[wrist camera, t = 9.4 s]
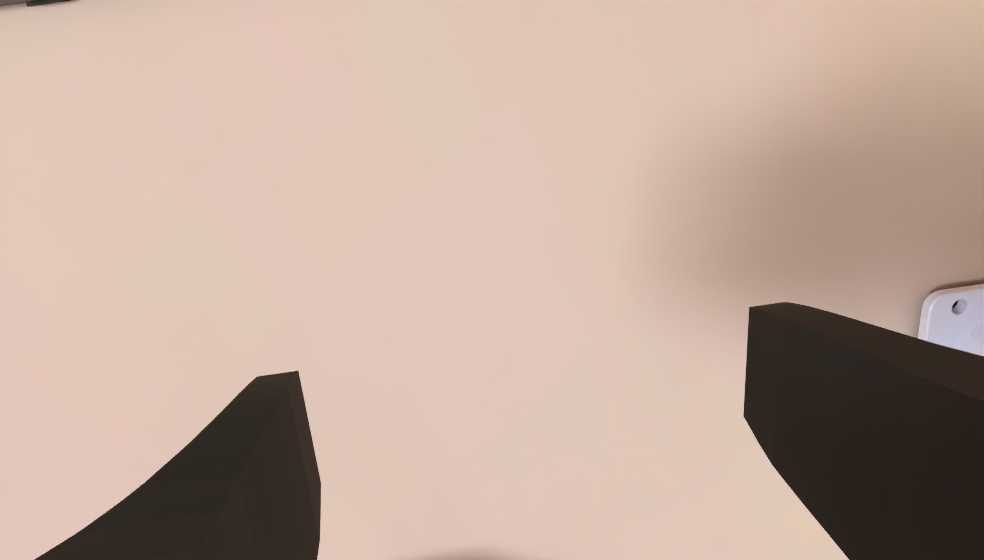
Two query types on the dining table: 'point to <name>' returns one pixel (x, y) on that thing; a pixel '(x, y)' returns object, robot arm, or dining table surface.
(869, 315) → the dining table surface
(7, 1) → the smartphone
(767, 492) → the dining table surface
